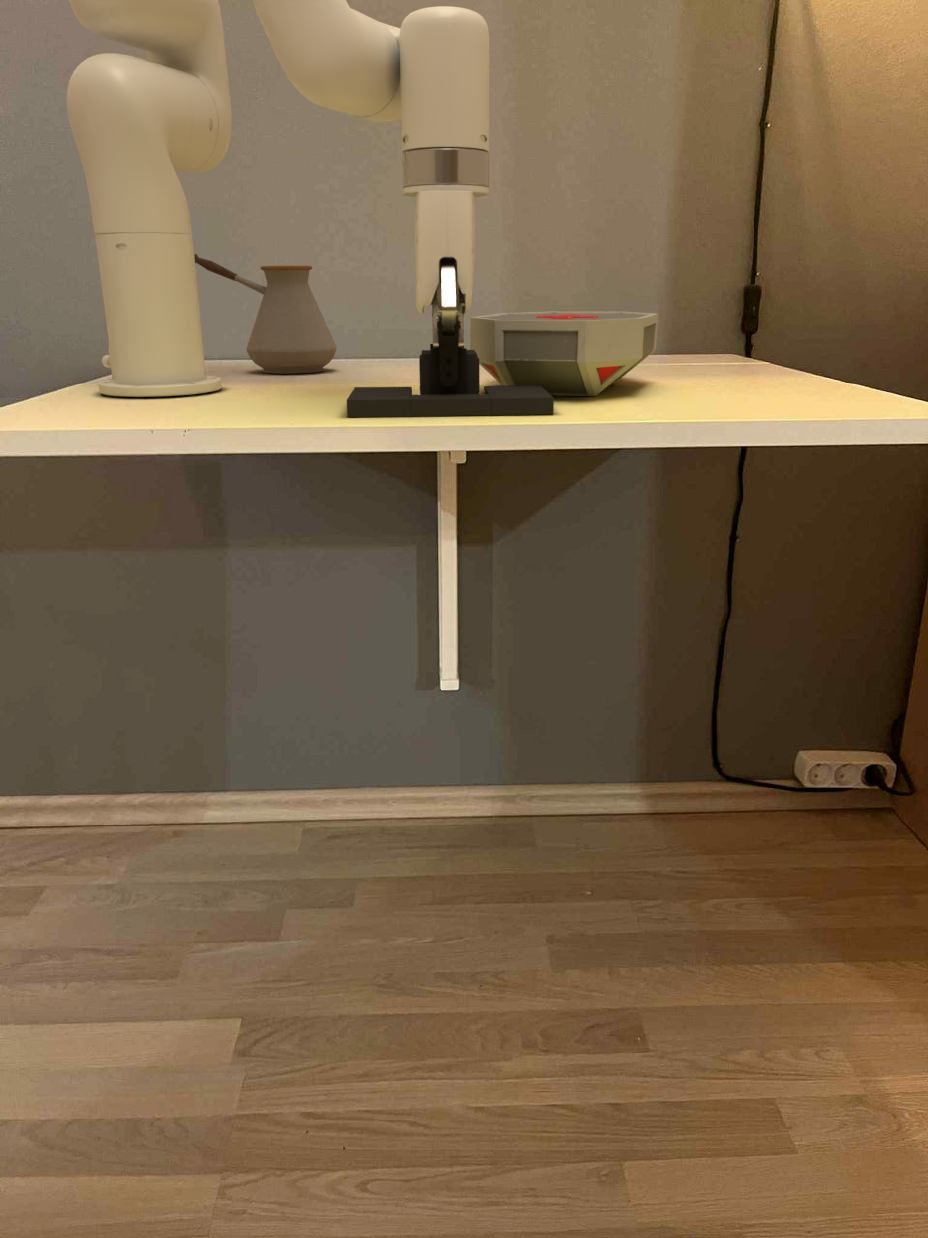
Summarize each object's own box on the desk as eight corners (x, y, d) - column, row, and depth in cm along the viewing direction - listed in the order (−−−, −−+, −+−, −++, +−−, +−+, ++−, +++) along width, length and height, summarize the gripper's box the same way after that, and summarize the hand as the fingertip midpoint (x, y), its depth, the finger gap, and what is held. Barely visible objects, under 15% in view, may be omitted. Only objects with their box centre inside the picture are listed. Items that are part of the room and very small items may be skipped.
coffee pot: (351, 368, 127) (345, 247, 122) (315, 376, 117) (307, 245, 112) (209, 365, 133) (198, 250, 128) (163, 373, 122) (149, 248, 117)
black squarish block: (420, 399, 86) (419, 354, 85) (420, 393, 91) (419, 349, 90) (479, 399, 86) (479, 353, 85) (476, 392, 91) (476, 349, 90)
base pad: (347, 417, 82) (346, 399, 82) (355, 402, 92) (354, 387, 91) (553, 414, 83) (553, 397, 83) (540, 400, 92) (540, 384, 92)
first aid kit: (629, 404, 89) (660, 378, 111) (634, 320, 86) (664, 311, 109) (451, 399, 94) (515, 375, 116) (450, 319, 91) (516, 311, 114)
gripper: (404, 185, 90) (409, 381, 96) (400, 166, 74) (406, 402, 80) (483, 185, 91) (483, 380, 97) (495, 166, 74) (494, 401, 81)
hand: (448, 388), depth 88 cm, fingers closed on black squarish block, 5 cm apart
